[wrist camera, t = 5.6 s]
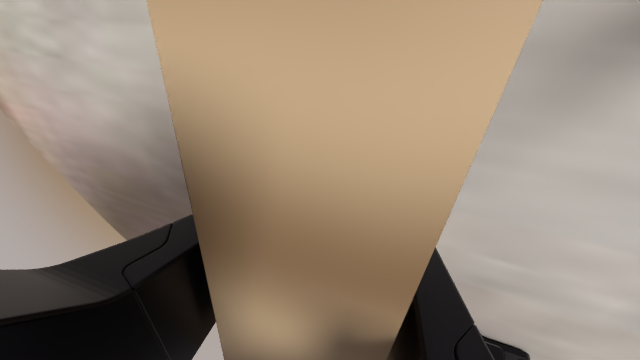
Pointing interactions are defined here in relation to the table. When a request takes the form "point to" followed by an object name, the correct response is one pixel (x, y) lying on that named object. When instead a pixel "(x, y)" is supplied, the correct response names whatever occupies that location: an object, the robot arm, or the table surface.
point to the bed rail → (327, 154)
